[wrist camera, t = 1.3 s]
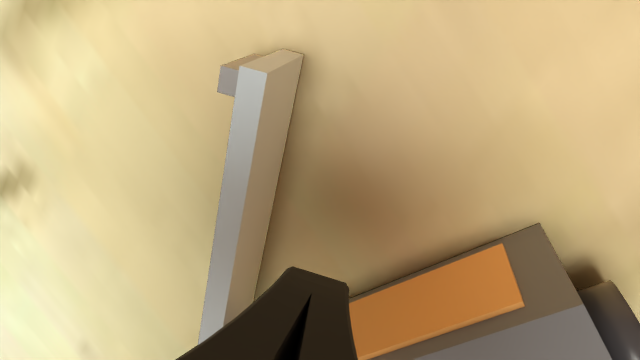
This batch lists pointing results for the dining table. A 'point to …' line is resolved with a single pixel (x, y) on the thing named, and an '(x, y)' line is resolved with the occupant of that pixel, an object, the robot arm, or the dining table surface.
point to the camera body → (495, 310)
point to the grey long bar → (248, 179)
